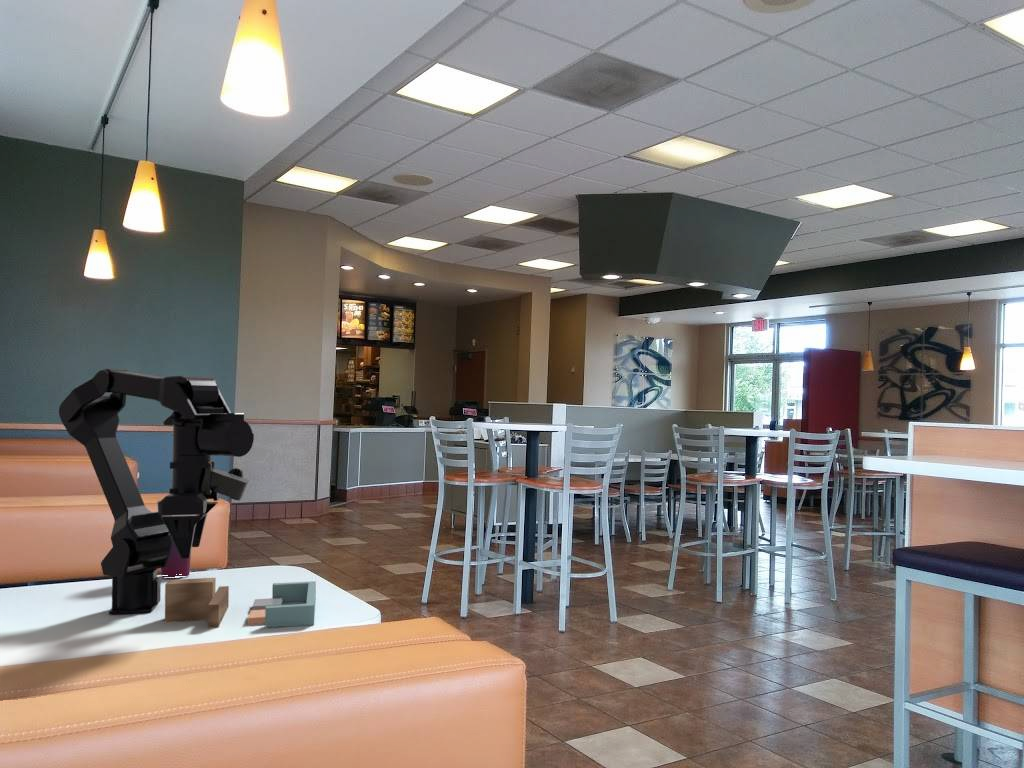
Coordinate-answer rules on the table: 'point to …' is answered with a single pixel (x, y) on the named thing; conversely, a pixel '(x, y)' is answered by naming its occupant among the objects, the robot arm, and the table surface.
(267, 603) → the tile slate
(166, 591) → the scraper
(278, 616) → the teal corner frame
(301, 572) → the table surface
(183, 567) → the cup
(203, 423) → the robot arm
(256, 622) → the tile terracotta
